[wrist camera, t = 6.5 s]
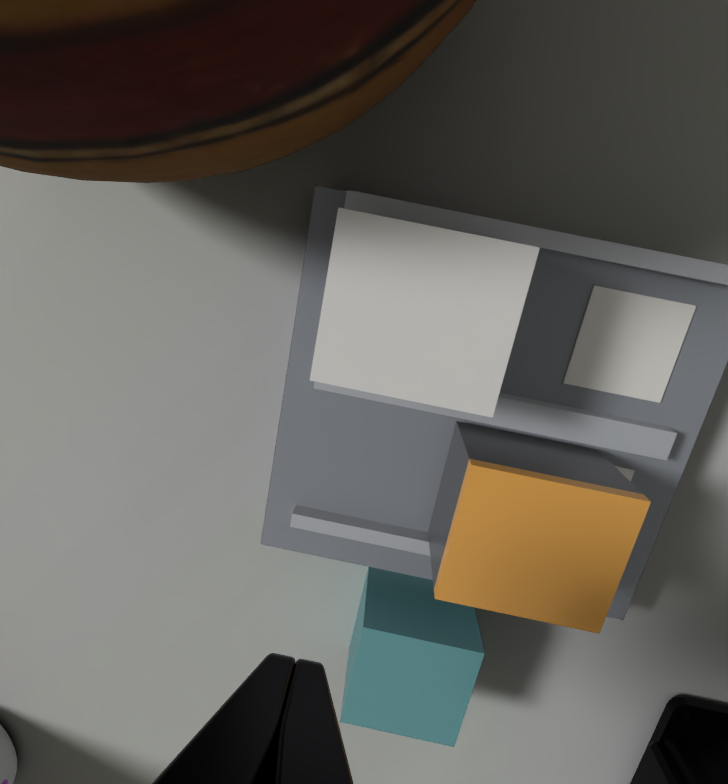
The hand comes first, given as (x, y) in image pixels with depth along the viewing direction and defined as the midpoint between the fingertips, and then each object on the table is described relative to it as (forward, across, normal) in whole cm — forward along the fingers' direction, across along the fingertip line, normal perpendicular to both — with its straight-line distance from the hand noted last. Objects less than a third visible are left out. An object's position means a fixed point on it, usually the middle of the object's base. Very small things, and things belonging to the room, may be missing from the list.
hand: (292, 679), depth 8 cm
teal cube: (+11, -4, +7) cm, 13 cm away
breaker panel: (+11, -4, -2) cm, 12 cm away
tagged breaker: (+9, -5, 0) cm, 10 cm away
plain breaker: (+9, -1, -5) cm, 10 cm away
